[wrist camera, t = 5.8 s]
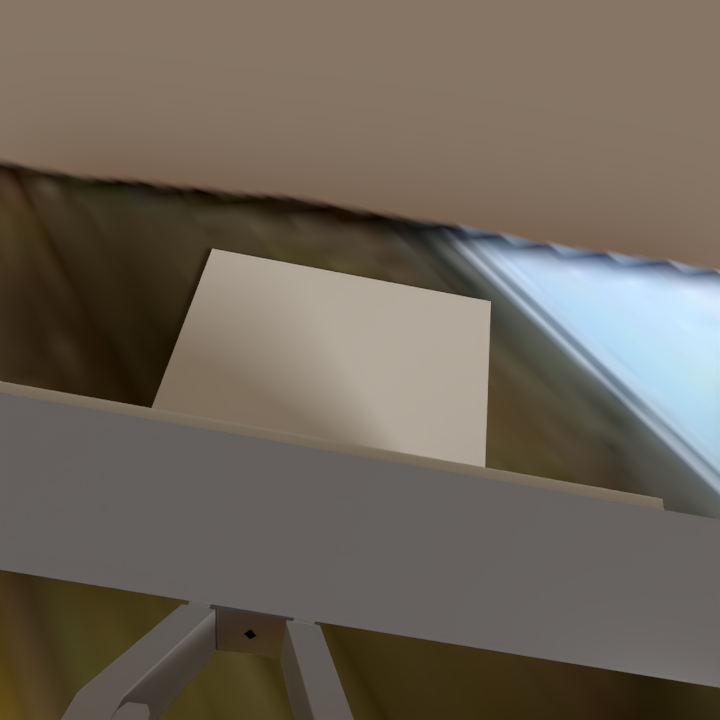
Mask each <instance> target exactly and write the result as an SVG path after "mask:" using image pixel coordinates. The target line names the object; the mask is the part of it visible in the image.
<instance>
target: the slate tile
mask: <svg viewBox="0 0 720 720" xmlns="http://www.w3.org/2000/svg"><path fill="white" fill-rule="evenodd" d="M0 570H5V571H11V572H18V573H24V574H30V575H36V576H42V577H48V578H54V579H60V580H66V581H72V582H79V583H85V584H91V585H97V586H103V587H109V588H115V589H121V590H127V591H133V592H140V593H146V594H152V595H158V596H164V597H170V598H176V599H182V600H188V601H194V602H200V603H207V604H213V605H219V606H225V607H231V608H237V609H243V610H249V611H255V612H261V613H268V614H274V615H280V616H286V617H292V618H298V619H304V620H310V621H316V622H322V623H328V624H335V625H341V626H347V627H353V628H359V629H365V630H371V631H377V632H383V633H389V634H396V635H402V636H408V637H414V638H420V639H426V640H432V641H438V642H444V643H450V644H457V645H463V646H469V647H475V648H481V649H487V650H493V651H499V652H505V653H511V654H517V655H524V656H530V657H536V658H542V659H548V660H554V661H560V662H566V663H572V664H578V665H585V666H591V667H597V668H603V669H609V670H615V671H621V672H627V673H633V674H639V675H645V676H652V677H658V678H664V679H670V680H676V681H682V682H688V683H694V684H700V685H706V686H713V687H719V688H720V520H719V519H713V518H707V517H702V516H696V515H690V514H685V513H679V512H673V511H668V510H664V505H663V500H662V499H660V498H655V497H649V496H643V495H638V494H632V493H626V492H621V491H615V490H609V489H604V488H598V487H593V486H587V485H581V484H576V483H570V482H564V481H559V480H553V479H548V478H542V477H536V476H531V475H525V474H519V473H514V472H508V471H503V470H497V469H491V468H486V467H480V466H474V465H469V464H463V463H457V462H452V461H446V460H441V459H435V458H429V457H424V456H418V455H412V454H407V453H401V452H396V451H390V450H384V449H379V448H373V447H367V446H362V445H356V444H351V443H345V442H339V441H334V440H328V439H322V438H317V437H311V436H305V435H300V434H294V433H289V432H283V431H277V430H272V429H266V428H260V427H255V426H249V425H244V424H238V423H232V422H227V421H221V420H215V419H210V418H204V417H198V416H193V415H187V414H182V413H176V412H170V411H165V410H159V409H153V408H148V407H142V406H137V405H131V404H125V403H120V402H114V401H108V400H103V399H97V398H92V397H86V396H80V395H75V394H69V393H63V392H58V391H52V390H46V389H41V388H35V387H30V386H24V385H18V384H13V383H7V382H1V381H0Z"/></svg>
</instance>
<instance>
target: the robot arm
mask: <svg viewBox="0 0 720 720" xmlns="http://www.w3.org/2000/svg"><path fill="white" fill-rule="evenodd" d="M314 623H315V621H310V620H304V619H298V618H292V617H286V616H280V615H274V614H268V613H261V612H255V611H249V610H243V609H237V608H231V607H225V606H219V605H213V604H207V603H200V602H194V601H189V602H188V605H186V604H181V605H180V606H179V607H178V608H176V609H175V610H174V611H173V612H172V613H171V614H169V615H168V616H167V617H166V618H165V619H163V620H162V621H161V622H160V623H159V624H157V625H156V626H155V627H154V628H153V629H152V630H150V631H149V632H148V633H147V634H146V635H144V636H143V637H142V638H141V639H140V640H139V641H137V642H136V643H135V644H134V645H133V646H131V647H130V648H129V649H128V650H127V651H125V652H124V653H123V654H122V655H121V656H120V657H118V658H117V659H116V660H115V661H114V662H112V663H111V664H110V665H109V666H108V667H107V668H105V669H104V670H103V671H102V672H101V673H99V674H98V675H97V676H96V677H95V678H93V679H92V680H91V681H90V682H89V683H88V684H86V685H85V686H84V687H83V688H82V689H80V690H79V691H78V692H77V694H76V696H75V697H74V699H73V700H72V702H71V704H70V705H69V707H68V708H67V710H66V712H65V713H64V715H63V717H62V718H61V720H158V718H159V717H160V716H161V715H162V714H163V713H164V712H165V710H166V709H167V708H168V707H169V706H170V705H171V703H172V702H173V701H174V700H175V699H176V698H177V697H178V695H179V694H180V693H181V692H182V691H183V690H184V689H185V687H186V686H187V685H188V684H189V683H190V682H191V680H192V679H193V678H194V677H195V676H196V675H197V674H198V672H199V671H200V670H201V669H202V668H203V667H204V666H205V664H206V663H207V662H208V661H209V660H210V659H211V657H212V656H213V655H214V654H215V653H216V650H221V651H229V652H238V653H247V654H253V655H258V656H264V657H269V658H275V659H280V660H281V666H282V670H283V675H284V679H285V684H286V688H287V693H288V697H289V702H290V706H291V711H292V715H293V720H354V719H353V716H352V713H351V711H350V708H349V705H348V702H347V699H346V697H345V694H344V691H343V688H342V686H341V683H340V680H339V677H338V674H337V672H336V669H335V666H334V663H333V661H332V658H331V655H330V652H329V649H328V647H327V644H326V641H325V638H324V636H323V633H322V630H321V627H320V625H316V624H314Z"/></svg>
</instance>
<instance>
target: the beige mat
mask: <svg viewBox="0 0 720 720" xmlns="http://www.w3.org/2000/svg"><path fill="white" fill-rule="evenodd" d="M490 308H491V301H485V300H480V299H475V298H470V297H464V296H459V295H454V294H448V293H443V292H438V291H433V290H427V289H422V288H417V287H412V286H406V285H401V284H396V283H391V282H385V281H380V280H375V279H370V278H364V277H359V276H354V275H349V274H343V273H338V272H333V271H327V270H322V269H317V268H312V267H306V266H301V265H296V264H291V263H285V262H280V261H275V260H270V259H264V258H259V257H254V256H249V255H243V254H238V253H233V252H228V251H222V250H217V249H212V251H211V253H210V256H209V259H208V261H207V264H206V266H205V269H204V272H203V274H202V277H201V280H200V282H199V285H198V287H197V290H196V293H195V295H194V298H193V301H192V303H191V306H190V308H189V311H188V314H187V316H186V319H185V322H184V324H183V327H182V329H181V332H180V335H179V337H178V340H177V343H176V345H175V348H174V350H173V353H172V356H171V358H170V361H169V363H168V366H167V369H166V371H165V374H164V377H163V379H162V382H161V384H160V387H159V390H158V392H157V395H156V398H155V400H154V403H153V405H152V408H153V409H159V410H165V411H170V412H176V413H182V414H187V415H193V416H198V417H204V418H210V419H215V420H221V421H227V422H232V423H238V424H244V425H249V426H255V427H260V428H266V429H272V430H277V431H283V432H289V433H294V434H300V435H305V436H311V437H317V438H322V439H328V440H334V441H339V442H345V443H351V444H356V445H362V446H367V447H373V448H379V449H384V450H390V451H396V452H401V453H407V454H412V455H418V456H424V457H429V458H435V459H441V460H446V461H452V462H457V463H463V464H469V465H474V466H480V467H485V451H486V423H487V394H488V365H489V337H490Z"/></svg>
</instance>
